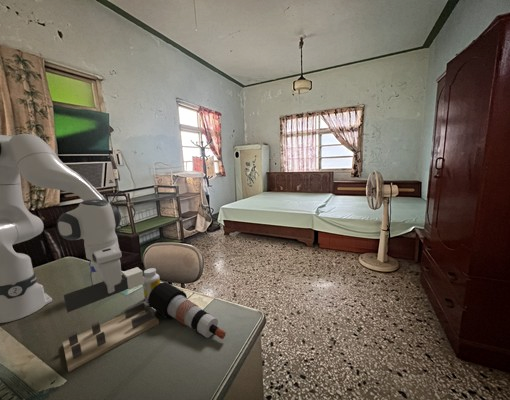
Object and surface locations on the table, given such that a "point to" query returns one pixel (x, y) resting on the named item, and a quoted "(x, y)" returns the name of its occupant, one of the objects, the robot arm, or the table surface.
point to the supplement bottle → (150, 281)
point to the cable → (183, 310)
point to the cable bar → (102, 290)
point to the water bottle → (94, 274)
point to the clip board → (108, 335)
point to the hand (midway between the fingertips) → (109, 289)
